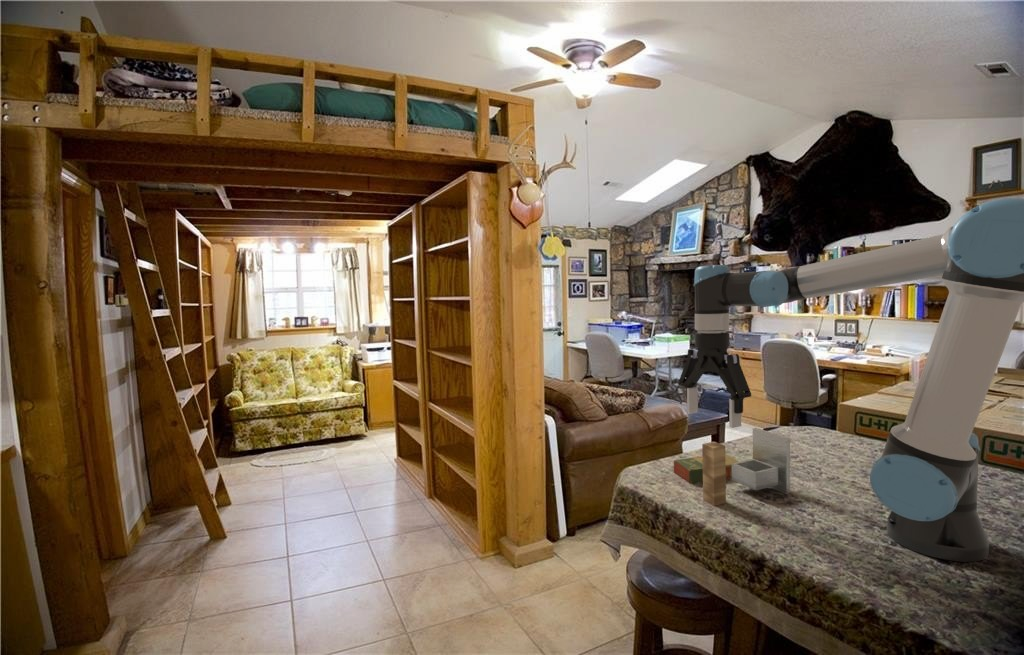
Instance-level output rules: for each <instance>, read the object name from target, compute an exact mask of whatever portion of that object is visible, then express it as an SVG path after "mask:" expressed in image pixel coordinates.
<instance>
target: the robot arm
mask: <svg viewBox="0 0 1024 655" xmlns="http://www.w3.org/2000/svg"><path fill="white" fill-rule="evenodd" d="M935 277H936V278H937V277H941V279H940V281H941V282H942V283H943V284H944V286H945V287H946V288H947V290H948V295H947V298H946V300H945V304H944V306H943V310H942V312H941V316H940V318H939V321H938V324H937V327H936V330H935V332H934V336H933V339H932V342H931V344H930V347H929V350H928V353H927V356H926V359H925V362H924V365H923V368H922V371H921V374H920V377H919V380H918V383H917V386H916V388H915V391H914V394H913V397H912V399H911V403H910V406H909V409H908V411H907V414H906V417H905V420H904V422H903V423H899V424H896V425H894V426H892V427H891V429H890V430H889V433H888V436H887V439H886V442H885V445H884V448H883V450H882V454H881V457H879V458H878V459H877V460H875V461H874V463H873V465H872V466H871V469H870V472H869V483H870V486H871V489H872V491H873V494H875V495H876V497H877V498H878V501H880V502H881V504H882V505H883V506H885V507H886V508H887V509H888V510H890V513H889V515H888V518H887V520H886V533H887V535H888V536H889V537H890V539H892V540H894V541H895V542H896V543H898V544H899V545H901V546H902V547H905V548H907V549H909V550H911V551H914V552H916V553H919V554H922V555H924V556H925V555H926V556H929V557H933V558H936V559H940V560H947V561H953V562H965V563H969V562H971V563H972V562H980V561H983V560H985V559H987V557H989V554H990V553H989V550H990V549H989V548H990V542H989V539H988V536H987V534H986V532H985V529H984V526H983V524H982V521H981V518H980V516H979V513H978V484H979V483H978V482H979V480H978V479H979V477H978V476H979V452H980V451H981V447H980V445H979V438H978V436H977V434H975V433H974V432H973V431H974V429H975V426H976V423H977V420H978V418H979V415H980V413H981V410H982V408H983V405H984V402H985V400H986V397H987V395H988V392H989V390H990V387H991V384H992V381H993V379H994V376H995V374H996V371H997V368H998V365H999V363H1000V360H1001V358H1002V356H1003V353H1004V351H1005V348H1006V345H1007V342H1008V339H1009V337H1010V334H1011V332H1012V330H1013V327H1014V325H1015V321H1016V319H1017V316H1018V315H1019V312H1020V308H1021V306H1022V304H1023V303H1024V198H1023V197H1009V198H1008V197H1004V198H999V199H998V198H997V199H994V200H990V201H987V202H984V203H981V204H979V205H976V206H975V207H973V208H971V209H970V210H968V211H967V212H965V213H964V214H963V215H962V216H961V217H960V218H958V220H957V221H956V223H954V225H953V226H949V227H948V229H947V230H946V231H945V232H944V233H942V234H939V235H938V234H937V235H935V236H934V235H933V236H930V237H925V238H920V239H915V240H911V241H907V242H904V243H898V244H893V245H890V246H884V247H880V248H877V249H871V250H868V251H862V252H859V253H854V254H850V255H849V254H848V255H845V256H841V257H837V258H832V259H827V260H823V261H819V262H814V263H810V264H803V265H800V266H795V267H790V268H786V269H781V270H761V271H747V272H746V271H744V272H730V267H729V265H726V264H714V265H699V266H698V267H696V268H695V269H694V282H693V289H694V290H693V291H694V330H695V331H696V332H695V334H694V346H695V348H690V349H687V355H686V356H687V358H686V361H685V363H684V367H683V368H682V372H681V374H680V377H679V379H678V380H679V381H678V382H679V384H681V385H682V384H683V386H684V387H685V399H686V409H687V410H686V411H687V412H686V413H687V415H694V414H698V413H699V406H698V405H699V403H698V402H699V399H698V398H699V395H698V394H699V392H698V390H699V389H698V387H697V386H698V385H697V383H698V382H699V380H700V379H701V378H702V376H703V375H704V374H705V372H706V371H710V372H712V373H713V372H714V373H716V375H718V376H719V377H720V378H721V381H722V383H723V384H724V386H725V387H726V389H727V390H728V392H729V394H730V396H731V397H730V398H728V399H729V400H728V401H729V402H728V403H729V405H728V406H729V407H728V408H729V409H728V410H729V417H728V418H729V419H728V420H729V428H731V429H732V428H739V427H742V414H743V413H744V399H747V398H751V397H752V392H751V389H750V387H749V384H748V382H747V379H746V376H745V374H744V371H743V368H742V366H741V361H740V356H739V354H738V353H734V354H733V353H732V354H728V348H730V333H729V332H728V331H729V329H730V307H761V308H762V307H763V308H767V307H768V308H769V307H778V306H781V305H783V304H788V303H793V302H796V301H801V300H807V299H813V298H818V297H824V296H830V295H836V294H842V293H846V292H847V293H848V292H851V291H852V292H853V291H859V290H865V289H870V288H876V287H882V286H888V285H895V284H901V283H905V282H906V283H907V282H911V281H918V280H924V279H930V278H935Z"/></svg>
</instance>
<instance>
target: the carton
mask: <svg viewBox="0 0 1024 655" xmlns="http://www.w3.org/2000/svg"><path fill="white" fill-rule="evenodd" d="M736 462H740V460H737V459H736V458H734V457H732V456H730V455H728V454H726V453H725V465H726V478H728V479H732V463H736ZM673 473H674V474H675V475H676V476H678V477H679V478H681V479H682V480H683V481H685V482H686V483H688V484H697V483H703V482H702V481H703V456H697V457H696V456H695V457H690V458H689V457H687V458H681V459H680V458H679V459H674V460H673Z"/></svg>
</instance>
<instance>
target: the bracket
mask: <svg viewBox="0 0 1024 655" xmlns="http://www.w3.org/2000/svg"><path fill="white" fill-rule="evenodd" d="M731 481H733V482H735V483H738V484H739V485H742V486H744V487H747V488H749V489H751V490H754V491H760V490H763V489H767V488H769V489H773V490H776V491H778V492H780V493H782V494H785V495H789V494H791V437H788V436H785V435H782V434H778V433H775V432H771V431H768V430H765V429H762V428H757V427H754V428H752V458H751V459H746V460H742V461H739V462H736V463H732V478H731Z"/></svg>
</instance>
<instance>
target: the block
mask: <svg viewBox="0 0 1024 655" xmlns="http://www.w3.org/2000/svg"><path fill="white" fill-rule="evenodd" d="M701 446H702V456H701V457H703V482H702V501H705V502H706V503H708V504H710V505H712V506H714V507H715V506H718V505H723V504H726V503H727V492H726V489H727V488H726V486H727V479H726V465H725V454H726V445H724V444H722V443H719V442H716V441H710V442H705V443H702V445H701Z"/></svg>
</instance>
